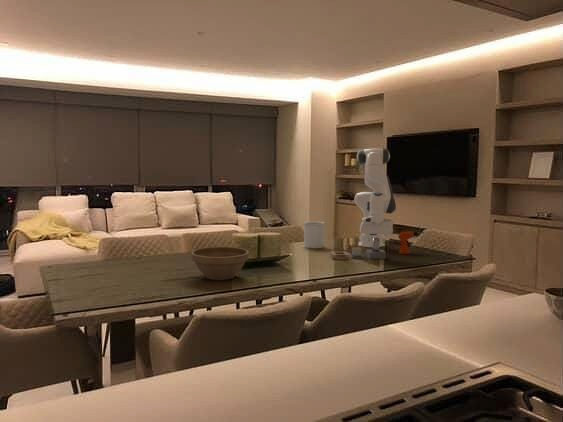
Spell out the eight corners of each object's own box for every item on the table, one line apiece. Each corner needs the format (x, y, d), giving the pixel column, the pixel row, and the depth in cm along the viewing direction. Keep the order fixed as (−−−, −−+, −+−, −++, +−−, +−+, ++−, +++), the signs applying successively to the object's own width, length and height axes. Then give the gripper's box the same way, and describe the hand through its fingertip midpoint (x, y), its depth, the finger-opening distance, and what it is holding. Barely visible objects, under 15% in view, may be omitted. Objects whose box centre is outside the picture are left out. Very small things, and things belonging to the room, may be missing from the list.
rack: (330, 256, 289) (330, 251, 288) (346, 256, 289) (346, 251, 289) (332, 259, 279) (332, 254, 278) (349, 259, 279) (349, 254, 279)
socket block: (366, 255, 291) (366, 249, 291) (381, 255, 291) (381, 249, 291) (369, 258, 281) (369, 252, 281) (385, 258, 281) (385, 252, 281)
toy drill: (427, 250, 303) (425, 228, 301) (401, 255, 299) (399, 232, 297) (423, 249, 307) (421, 227, 306) (397, 254, 304) (395, 231, 302)
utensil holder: (301, 245, 332) (302, 221, 330) (322, 245, 333) (322, 221, 332) (305, 248, 317) (305, 223, 316) (326, 248, 319) (326, 223, 317)
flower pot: (254, 281, 221) (254, 254, 220) (194, 285, 213) (194, 257, 212) (242, 269, 248) (242, 245, 247) (189, 272, 240) (188, 247, 239)
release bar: (352, 256, 288) (352, 247, 287) (360, 256, 288) (360, 247, 288) (353, 257, 284) (353, 248, 283) (361, 257, 284) (361, 248, 284)
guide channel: (347, 254, 296) (347, 252, 296) (359, 254, 296) (359, 252, 296) (351, 258, 282) (351, 256, 281) (364, 258, 282) (364, 256, 282)
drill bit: (371, 256, 288) (372, 235, 287) (378, 256, 288) (378, 235, 287) (373, 257, 284) (373, 236, 283) (379, 257, 284) (380, 236, 283)
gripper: (391, 218, 288) (391, 240, 288) (359, 218, 287) (358, 240, 288) (394, 219, 281) (394, 241, 282) (361, 219, 281) (360, 241, 282)
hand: (376, 241), depth 285 cm, fingers open, 8 cm apart
